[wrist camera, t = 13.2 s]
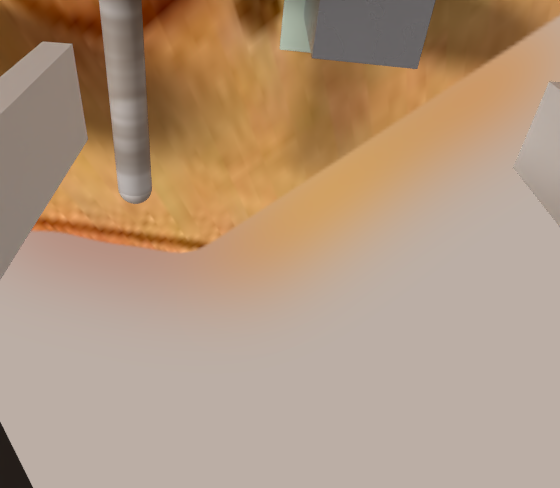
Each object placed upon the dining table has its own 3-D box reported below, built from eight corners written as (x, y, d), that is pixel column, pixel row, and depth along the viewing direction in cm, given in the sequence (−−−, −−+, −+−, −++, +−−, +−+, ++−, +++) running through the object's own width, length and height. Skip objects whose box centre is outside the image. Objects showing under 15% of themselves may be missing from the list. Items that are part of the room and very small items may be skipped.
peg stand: (99, -183, 30) (-33, -221, 17) (217, -167, 30) (176, -192, 17) (125, 119, 41) (57, 233, 28) (211, 127, 42) (182, 243, 29)
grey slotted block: (311, -49, 33) (323, -23, 25) (399, -38, 34) (437, -9, 26) (303, 15, 36) (312, 57, 28) (385, 24, 36) (417, 69, 28)
